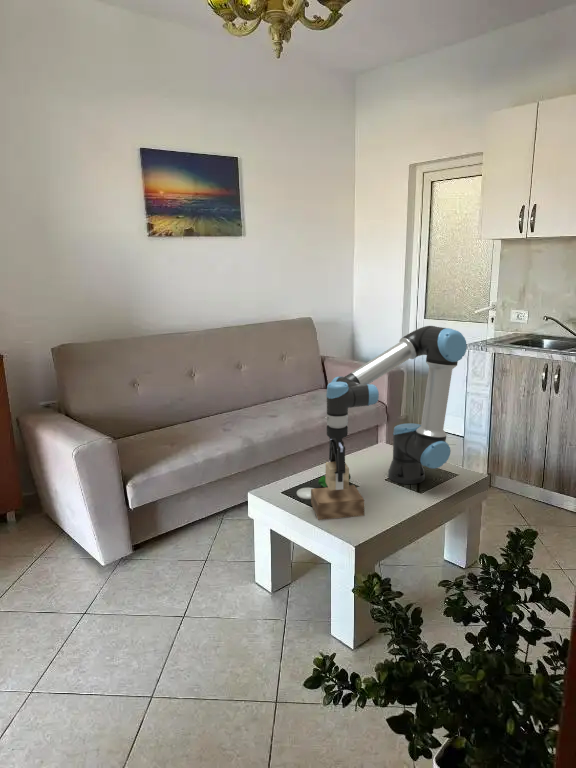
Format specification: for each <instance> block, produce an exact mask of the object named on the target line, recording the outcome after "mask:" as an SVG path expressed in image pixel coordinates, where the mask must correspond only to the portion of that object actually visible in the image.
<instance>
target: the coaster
mask: <svg viewBox="0 0 576 768" xmlns="http://www.w3.org/2000/svg"><path fill="white" fill-rule="evenodd" d="M311 489H315V488H314V487H302V488H299V489H298V490H297V491H296V496H297V497H298V498H300V499H303V500H311Z"/></svg>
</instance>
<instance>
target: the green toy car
mask: <svg viewBox="0 0 576 768" xmlns="http://www.w3.org/2000/svg"><path fill="white" fill-rule="evenodd" d="M351 478H352V477H351V474H350V473H349V481H350V480H351ZM317 484H318V485H319V486H321V488H327V487H328V486H327V484H326V474H324V475H322V476H321V477H319V479H318V482H317Z"/></svg>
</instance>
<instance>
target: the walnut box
mask: <svg viewBox="0 0 576 768" xmlns="http://www.w3.org/2000/svg"><path fill="white" fill-rule="evenodd" d="M310 504H311V506H312V509H313V511H314V514H315V513H316V514H315V516H316V519H317V520H318V521H320V520H321V521H323V520H330V519H342V518H351V517H361V516H362V517H363V516H365V499H364V497H363V495H362V494H361V493H360V491H359V490H358V489H357V487H356V486H355V485H354V484H352V485H350V484H349V489H342V490H329V488H328V487H327V488H325V487H317V488H315V489H311V499H310Z"/></svg>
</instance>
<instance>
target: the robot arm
mask: <svg viewBox="0 0 576 768" xmlns="http://www.w3.org/2000/svg"><path fill="white" fill-rule="evenodd" d="M467 345H468V343H467V340H466V338H465V336H464V334H463V333H462V332H460V331H459V330H456V329H453V328H449V327H441V326H435V325H426V326H422V327H420V328H417V329H415V330H413V331H411V332H409V333H407V334H406V335H404V336H402V337H401V338H400V339H399V341H398V343H396V344H395V345H393V346H392V347H390V348H388V349H387V350H385V351H384V352H382V353H380V354H378V355H377V356H375V357H374V358H372V359H371V360H368V362H366V363H364V364H363V365H361V366H360V367H357V368H356V369H354V370H353V371H351V372H350V373H348V374H347V375H345V376H336V377H334V378H333V379H332V380H331V382H329V383H328V384H327V386H326V395H325V397H326V416H325V417H324V418H325V420H326V424H327V425H326V435H327V437H328V438H329V450H328V451H329V454H328V459H329V462H336V472H335V474H336V490H342V489H343V473H345V463H346V446H345V443H344V440H343V439H344V438H347V437H348V432H349V431H348V430H349V428H348V423H349V409H351V408H357V407H358V408H359V407H367V406H371V405H375V404H377V403H378V401H379V399H380V396H379V395H380V394H379V388H377V386H376V385H375V384H373V382H375V381H376V380H378V379H379V378H381V377H383V376H384V375H386V374H387V373H389V372H391V371H393V370H394V369H396V368H397V367H399V366H400V365H402V364H403V363H405V362H406V361H408V360H409V359H410V360H414V359H416V358H418V357H420V356H426V358H425V359H426V360H425V363H426V364H427V365H428V373H427V380H426V387H425V395H424V403H423V409H422V415H421V416H422V417H421V421H420V424H418V423H413V422H412V423H411V422H409V423H400V424H397V425H395V426H394V428H393V434H392V435H393V439H392V441H393V442H392V444H393V445H392V461H391V463H390V464H389V465H390V466H389V468H388V471H387V472H388V473H387V475H388V478H389V480H391V481H392V482H394V483H398V484H403V485H416V484H419V483H423V482H424V481H425V479H426V472H425V469H424V467H427V468H428V469H438V468H441V467H442V466H443V465H444V464H446V463H447V462H448V460H449V458H450V455H451V451H452V449H451V447H450V445H449V444H448V442H446V441H447V432H445V430H444V426H445V420H446V416H447V414H446V413H447V407H448V401H449V394H450V387H451V380H452V375H453V370H454V369H455V368H456V367H457V366H458V363H459V361H461V360H462V359H463V357H465V354H467V353H466V352H467ZM371 383H372V384H371Z"/></svg>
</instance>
